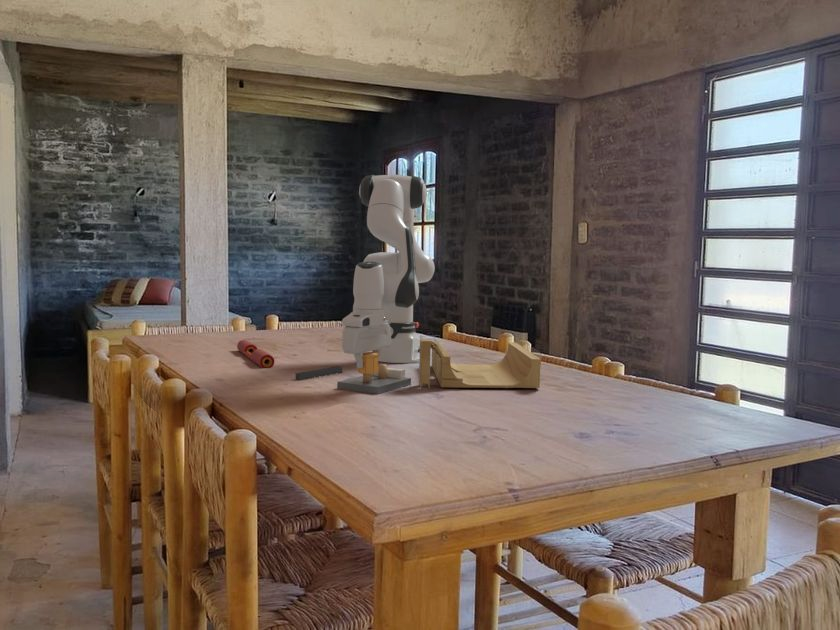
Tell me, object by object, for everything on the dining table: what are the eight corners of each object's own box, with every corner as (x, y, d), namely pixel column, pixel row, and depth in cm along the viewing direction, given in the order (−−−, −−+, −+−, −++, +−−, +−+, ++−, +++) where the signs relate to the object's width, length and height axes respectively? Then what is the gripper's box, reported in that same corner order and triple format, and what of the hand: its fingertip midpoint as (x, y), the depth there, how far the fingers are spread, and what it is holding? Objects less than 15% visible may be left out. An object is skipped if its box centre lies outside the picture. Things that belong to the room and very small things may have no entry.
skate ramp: (539, 391, 218) (541, 337, 216) (419, 390, 216) (421, 335, 214) (515, 369, 257) (516, 323, 256) (413, 368, 255) (414, 321, 254)
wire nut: (365, 369, 217) (365, 351, 217) (381, 371, 214) (381, 352, 214) (353, 372, 212) (354, 353, 212) (370, 374, 209) (370, 355, 209)
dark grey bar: (300, 371, 225) (290, 370, 227) (300, 380, 225) (290, 379, 227) (342, 365, 240) (332, 364, 242) (342, 373, 240) (332, 372, 242)
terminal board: (372, 379, 228) (372, 360, 228) (410, 384, 222) (411, 364, 221) (337, 388, 213) (337, 368, 212) (377, 394, 206) (378, 372, 205)
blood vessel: (237, 352, 284) (237, 339, 283) (250, 352, 286) (250, 339, 285) (259, 369, 245) (259, 354, 245) (274, 369, 247) (274, 354, 247)
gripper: (378, 315, 222) (378, 361, 224) (338, 320, 205) (337, 369, 206) (396, 316, 219) (395, 363, 220) (357, 321, 202) (356, 371, 203)
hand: (367, 366), depth 213 cm, fingers closed on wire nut, 6 cm apart
